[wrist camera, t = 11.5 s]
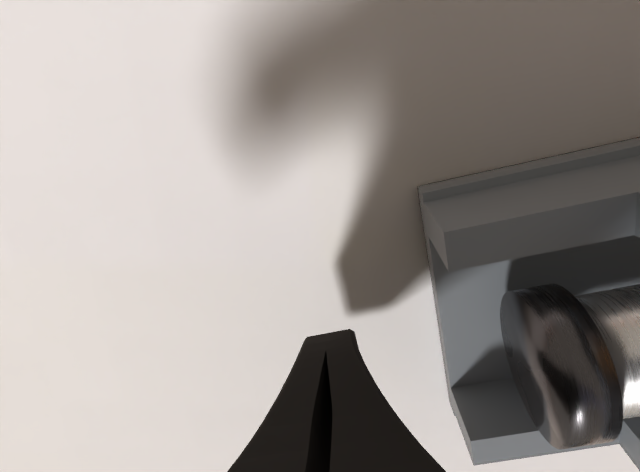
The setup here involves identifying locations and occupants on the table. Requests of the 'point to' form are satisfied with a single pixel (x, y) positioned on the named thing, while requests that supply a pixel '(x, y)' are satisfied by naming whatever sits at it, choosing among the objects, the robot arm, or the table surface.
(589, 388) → the shaft
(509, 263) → the housing
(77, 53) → the table surface
